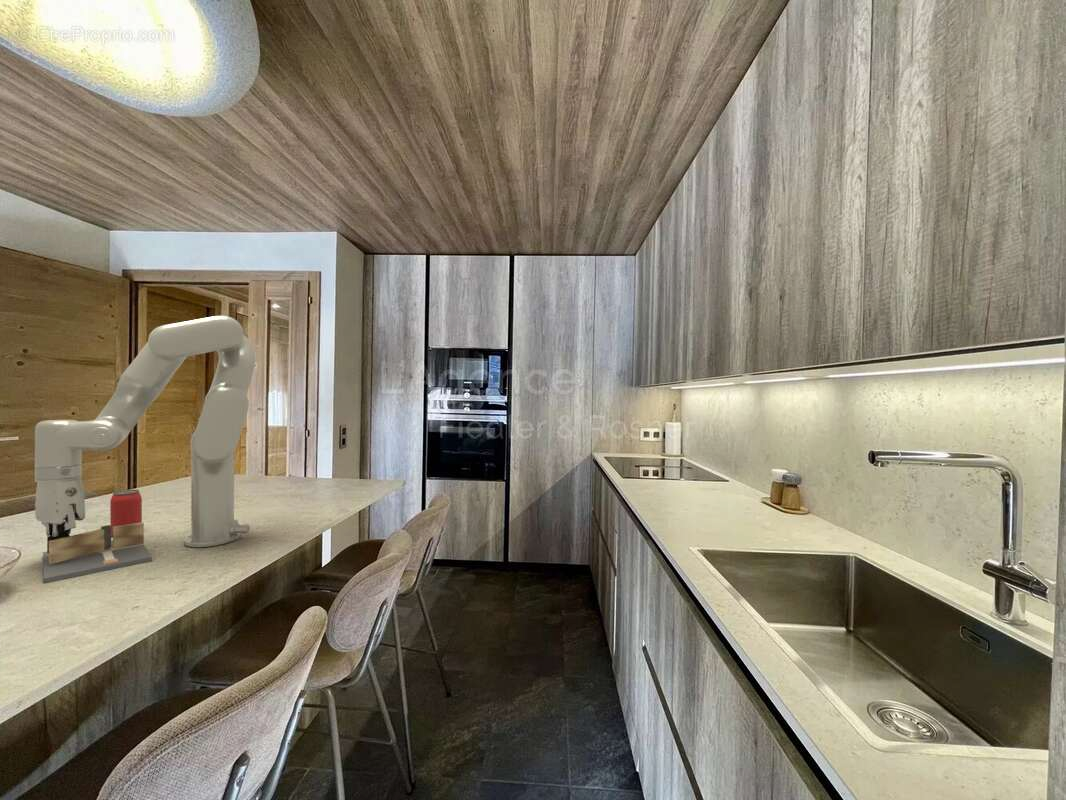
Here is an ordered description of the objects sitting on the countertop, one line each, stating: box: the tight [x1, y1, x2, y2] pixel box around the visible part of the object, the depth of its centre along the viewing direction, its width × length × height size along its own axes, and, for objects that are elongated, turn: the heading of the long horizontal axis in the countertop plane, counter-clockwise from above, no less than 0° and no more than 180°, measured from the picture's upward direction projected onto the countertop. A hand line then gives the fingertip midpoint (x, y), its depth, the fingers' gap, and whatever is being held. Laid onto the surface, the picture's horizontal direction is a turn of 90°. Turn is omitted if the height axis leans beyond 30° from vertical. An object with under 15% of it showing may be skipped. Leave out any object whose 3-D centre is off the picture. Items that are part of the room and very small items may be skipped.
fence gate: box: [49, 524, 112, 564], centre depth 107 cm, size 11×2×6 cm, turn 162°
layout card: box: [42, 539, 153, 584], centre depth 109 cm, size 18×22×1 cm
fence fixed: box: [112, 521, 145, 549], centre depth 114 cm, size 6×1×6 cm, turn 138°
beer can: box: [109, 489, 143, 537], centre depth 127 cm, size 7×7×12 cm
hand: (58, 551), depth 105 cm, fingers closed
